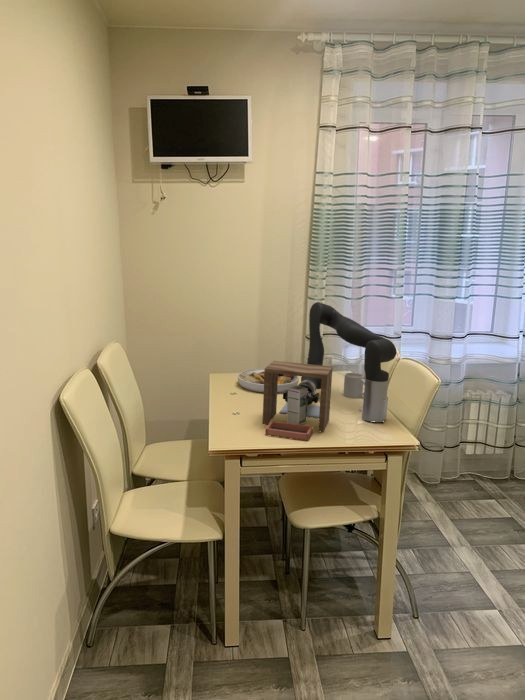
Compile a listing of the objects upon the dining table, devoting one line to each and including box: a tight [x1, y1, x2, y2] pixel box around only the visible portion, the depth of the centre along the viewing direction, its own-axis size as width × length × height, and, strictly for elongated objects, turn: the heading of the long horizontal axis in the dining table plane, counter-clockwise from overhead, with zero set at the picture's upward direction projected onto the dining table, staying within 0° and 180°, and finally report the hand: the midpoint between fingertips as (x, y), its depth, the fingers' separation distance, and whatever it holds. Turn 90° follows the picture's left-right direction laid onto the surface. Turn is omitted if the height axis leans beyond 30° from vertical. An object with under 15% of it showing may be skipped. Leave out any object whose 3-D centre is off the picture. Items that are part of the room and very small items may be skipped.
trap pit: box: [264, 420, 314, 442], centre depth 194 cm, size 9×16×2 cm, turn 74°
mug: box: [343, 372, 365, 399], centre depth 244 cm, size 11×10×10 cm
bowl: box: [237, 368, 300, 394], centre depth 256 cm, size 30×30×8 cm
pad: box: [278, 402, 320, 419], centre depth 220 cm, size 14×18×1 cm
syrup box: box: [286, 384, 308, 425], centre depth 205 cm, size 6×6×14 cm
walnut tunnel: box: [262, 360, 334, 433], centre depth 204 cm, size 14×24×22 cm, turn 74°
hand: (297, 401), depth 205 cm, fingers open, 8 cm apart
